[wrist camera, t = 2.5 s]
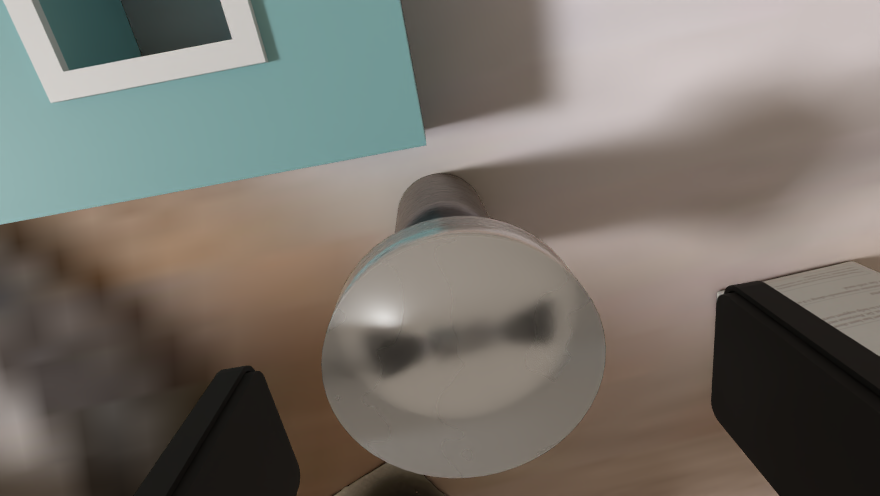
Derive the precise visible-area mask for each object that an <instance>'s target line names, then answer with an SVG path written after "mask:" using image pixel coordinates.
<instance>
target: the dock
mask: <svg viewBox="0 0 880 496" xmlns="http://www.w3.org/2000/svg"><path fill="white" fill-rule="evenodd" d="M220 1H221V5H222V8H223V11H224V14H225V17H226V21H227V24H228V27H229V30H230V34H231V37H232V39H231V40H225V41H220V42H215V43H210V44H205V45H200V46H194V47H189V48H184V49H179V50H174V51H168V52H163V53H158V54H153V55H148V56H141V53H140V50H139V48H138V45H137V43H136V40H135V37H134V35H133V32H132V29H131V27H130V24H129V22H128V19H127V16H126V14H125V11H124V9H123V6H122V3H121V1H120V0H0V224H6V223H11V222H17V221H22V220H27V219H33V218H38V217H43V216H49V215H54V214H60V213H65V212H70V211H76V210H81V209H86V208H92V207H97V206H102V205H108V204H113V203H119V202H124V201H129V200H135V199H140V198H145V197H151V196H156V195H162V194H167V193H172V192H178V191H183V190H188V189H194V188H199V187H204V186H210V185H215V184H221V183H226V182H231V181H237V180H242V179H247V178H253V177H258V176H264V175H269V174H274V173H280V172H285V171H290V170H296V169H301V168H306V167H312V166H317V165H323V164H328V163H333V162H339V161H344V160H349V159H355V158H360V157H365V156H371V155H376V154H382V153H387V152H392V151H398V150H403V149H408V148H414V147H419V146H425V145H426V138H425V130H424V124H423V119H422V113H421V108H420V103H419V97H418V92H417V86H416V81H415V75H414V70H413V65H412V59H411V54H410V48H409V43H408V37H407V32H406V27H405V21H404V16H403V10H402V5H401V0H220Z"/></svg>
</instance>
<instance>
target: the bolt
mask: <svg viewBox="0 0 880 496" xmlns="http://www.w3.org/2000/svg"><path fill="white" fill-rule="evenodd" d="M605 355H606V345H605V337H604V330H603V327H602V323H601V320H600V317H599V314H598V312H597V310H596V308H595V306H594V304H593V302H592V300H591V298H590V297H589V295H588V294H587V293H586V291H585V290H584V288H583V287H582V285H581V284H580V283H579V282H578V280H577V279H576V278H575V276H574V275H573V274H572V272H571V271H570V270H569V269H568V267H567V266H566V265H565V263H564V262H563V261H562V259H561V258H560V257H559V256H558V255H557V254H556V253H555V252H554V251H553V250H552V249H551V248H550V247H549V246H548V245H546V244H545V243H544V242H543V241H541V240H540V239H539V238H537V237H536V236H534V235H532V234H530V233H529V232H527V231H525V230H524V229H521V228H519V227H516V226H514V225H512V224H509V223H506V222H502V221H499V220H495V219H491V218H489V216H488V214H487V212H486V210H485V208H484V206H483V204H482V202H481V200H480V198H479V196H478V194H477V193H476V191H475V190H474V189H473V188H472V187H471V185H470V184H468V183H467V182H466V181H464V180H463V179H461V178H459V177H456V176H453V175H450V174H432V175H428V176H425V177H423V178H421V179H419V180H417V181H416V182H414V183H413V184H412V185H411V186H410V187H409V188H408V189H407V190H406V191H405V193H404V194H403V196H402V198H401V200H400V203H399V207H398V214H397V221H396V228H395V234H393V235H391V236H389V237H388V238H386V239H385V240H384V241H382V242H381V243H379V244H378V245H377V246H375V247H374V248H373V249H372V250H371V251H370V252H369V253H368V254H367V255H365V256H364V257H363V258H362V259H361V261H360V262H359V263H358V264H357V266H356V267H355V268H354V269H353V271H352V272H351V274H350V275H349V277H348V279H347V280H346V282H345V284H344V286H343V288H342V291H341V293H340V296H339V298H338V301H337V303H336V306H335V309H334V312H333V315H332V318H331V321H330V323H329V326H328V329H327V332H326V336H325V340H324V345H323V350H322V363H321V366H322V378H323V384H324V388H325V392H326V396H327V398H328V401H329V403H330V405H331V408H332V410H333V412H334V413H335V415H336V417H337V418H338V420H339V422H340V423H341V425H342V426H343V427H344V428H345V430H346V431H347V432H348V433H349V434H350V436H351V437H353V438H354V439H355V440H356V441H357V442H358V443H359V444H360V445H361V446H362V447H364V448H365V449H366V450H368V451H369V452H370V453H372V454H373V455H375V456H376V457H378V458H380V459H382V460H384V461H385V462H387V463H389V464H392V465H394V466H396V467H399V468H401V469H404V470H407V471H411V472H414V473H417V474H422V475H428V476H433V477H443V478H471V477H479V476H486V475H491V474H495V473H500V472H503V471H506V470H509V469H512V468H515V467H518V466H520V465H523V464H525V463H527V462H529V461H532V460H533V459H535V458H537V457H539V456H540V455H542V454H544V453H546V452H547V451H548V450H550V449H551V448H553V447H554V446H555V445H557V444H558V443H559V442H561V441H562V440H563V439H564V438H565V437H566V436H567V435H568V434H569V433H570V432H572V430H573V429H574V428H575V427H576V426H577V425H578V423H579V422H580V421H581V420H582V419H583V417H584V416H585V414H586V413H587V411H588V410H589V408H590V407H591V405H592V403H593V401H594V399H595V397H596V395H597V393H598V390H599V387H600V384H601V381H602V378H603V372H604V367H605Z"/></svg>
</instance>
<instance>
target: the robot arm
mask: <svg viewBox="0 0 880 496" xmlns="http://www.w3.org/2000/svg"><path fill="white" fill-rule="evenodd" d="M711 405H712V409H713V412H714V414H715V416H716V418H717V420H718V421H719V422H720V424H721V425H722V426H723V427H724V429H725V430H726V431H727V432H728V433H729V435H730V436H731V437H732V438H733V440H734V441H735V442H736V443H737V444H738V446H739V447H740V448H741V449H742V451H743V452H744V453H745V454H746V455H747V457H748V458H749V459H750V460H751V462H752V463H753V464H754V465H755V466H756V468H757V469H758V470H759V471H760V472H761V474H762V475H763V476H764V477H765V479H766V480H767V481H768V482H769V483H770V485H771V486H772V487H773V488H774V490H775V491H776V492H777V493H778V494H779V496H880V356H878V355H877V354H875V353H874V352H872V351H871V350H869V349H867V348H866V347H864V346H863V345H861V344H860V343H858V342H857V341H855V340H853V339H852V338H850V337H849V336H847V335H846V334H844V333H843V332H841V331H839V330H838V329H836V328H835V327H833V326H832V325H830V324H828V323H827V322H825V321H824V320H822V319H821V318H819V317H818V316H816V315H814V314H813V313H811V312H810V311H808V310H807V309H805V308H804V307H802V306H800V305H799V304H797V303H796V302H794V301H793V300H791V299H789V298H788V297H786V296H785V295H783V294H782V293H780V292H779V291H777V290H775V289H774V288H772V287H771V286H769V285H768V284H766V283H764V282H762V281H755V282H749V283H743V284H737V285H731V286H728V287H727V288H726V289H725V291H724V294H722V295H720V296H719V297H718V298H717V304H716V322H715V340H714V359H713V377H712V395H711ZM299 483H300V469H299V465H298V463H297V460H296V457H295V455H294V452H293V450H292V447H291V445H290V442H289V439H288V437H287V434H286V432H285V429H284V426H283V424H282V421H281V419H280V416H279V414H278V411H277V408H276V406H275V403H274V401H273V398H272V395H271V393H270V390H269V388H268V385H267V383H266V380H265V377H264V375H263V374H262V373H261V372H260V371H255V370H254V369H253V368H252V367H251V366H242V367H236V368H230V369H224V370H221V371H219V372H218V373H217V374H216V376H215V377H214V379H213V380H212V382H211V383H210V385H209V386H208V388H207V389H206V391H205V392H204V393H203V395H202V396H201V398H200V399H199V401H198V402H197V404H196V405H195V407H194V408H193V410H192V411H191V412H190V414H189V415H188V417H187V418H186V420H185V421H184V423H183V424H182V426H181V427H180V429H179V430H178V431H177V433H176V434H175V436H174V437H173V439H172V440H171V442H170V443H169V445H168V446H167V448H166V449H165V450H164V452H163V453H162V455H161V456H160V458H159V459H158V461H157V462H156V464H155V465H154V467H153V468H152V469H151V471H150V472H149V474H148V475H147V477H146V478H145V480H144V481H143V483H142V484H141V486H140V487H139V488H138V490H137V491H136V493H135V494H134V496H296V494H297V490H298V487H299Z"/></svg>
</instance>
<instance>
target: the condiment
mask: <svg viewBox="0 0 880 496" xmlns="http://www.w3.org/2000/svg"><path fill="white" fill-rule="evenodd" d="M416 491H417V492H418V493H416ZM334 496H445V495H444V494H443V493H442V492H440V491H439V490H438V489H436V488H435V486H434V485H433V484H432V483H431V482H430V481H429V480H427V478H426V477H425V476H424V475H422V474H417V473H414V472H411V471H407V470H404V469H401V468H399V467H396V466H394V465H392V464H389V463H385V464H384V465H382V466H380V467H379V468H377V469H375V470H374V471H372V472H371V473H369V474H367V475H365V476H363V477H362V478H360V479H359V480H357V481H356V482H354V483H353V484H351V485H349V486H346V487H344V488H343V489H342V490H341V491H340V492H339V493H337V494H336V495H334Z"/></svg>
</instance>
